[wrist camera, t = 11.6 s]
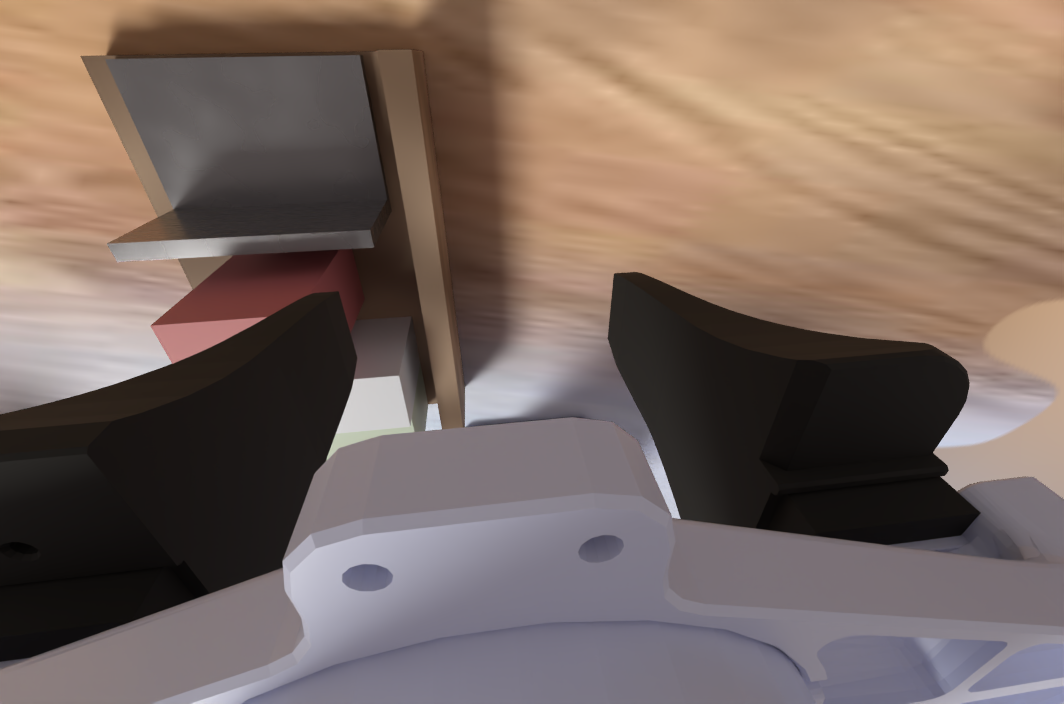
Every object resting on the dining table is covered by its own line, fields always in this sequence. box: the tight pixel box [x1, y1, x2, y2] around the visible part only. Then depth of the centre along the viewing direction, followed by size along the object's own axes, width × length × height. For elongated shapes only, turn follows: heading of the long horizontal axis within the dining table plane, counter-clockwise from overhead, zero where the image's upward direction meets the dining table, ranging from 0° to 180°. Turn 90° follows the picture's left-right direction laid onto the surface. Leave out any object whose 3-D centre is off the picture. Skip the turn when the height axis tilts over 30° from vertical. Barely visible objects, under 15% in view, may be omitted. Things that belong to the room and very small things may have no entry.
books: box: [326, 316, 428, 461], centre depth 20 cm, size 6×8×5 cm
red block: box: [151, 249, 365, 364], centre depth 17 cm, size 3×4×7 cm
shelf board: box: [81, 49, 465, 429], centre depth 19 cm, size 16×11×4 cm
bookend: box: [105, 55, 392, 262], centre depth 15 cm, size 5×8×4 cm
